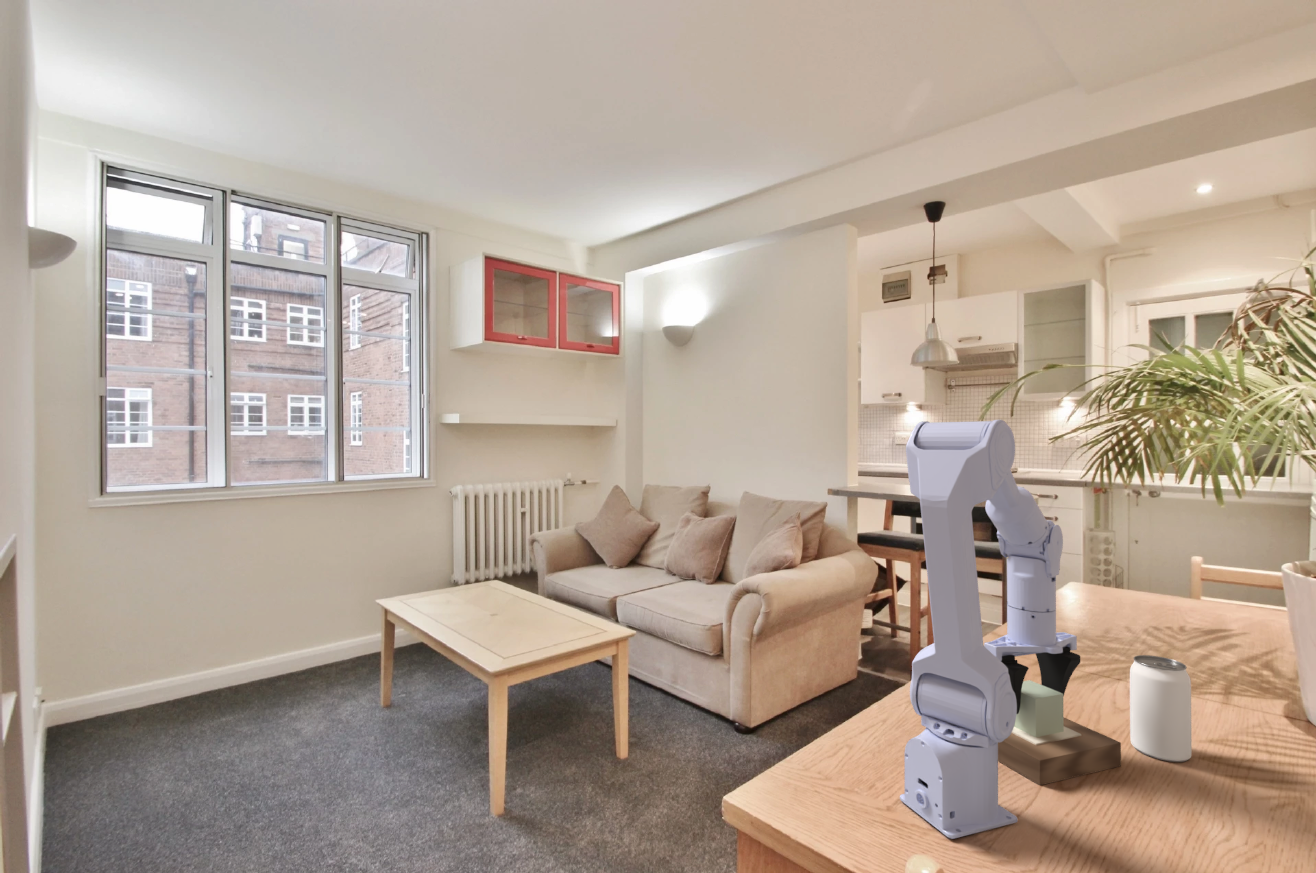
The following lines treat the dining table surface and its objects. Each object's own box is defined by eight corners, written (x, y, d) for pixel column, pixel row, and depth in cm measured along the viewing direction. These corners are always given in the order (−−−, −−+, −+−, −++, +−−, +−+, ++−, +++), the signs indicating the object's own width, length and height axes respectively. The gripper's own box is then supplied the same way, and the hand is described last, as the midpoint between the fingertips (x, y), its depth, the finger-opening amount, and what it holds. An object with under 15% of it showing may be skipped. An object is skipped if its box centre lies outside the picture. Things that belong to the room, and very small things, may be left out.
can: (1131, 735, 89) (1130, 650, 89) (1191, 749, 85) (1190, 661, 85) (1128, 753, 84) (1128, 663, 84) (1192, 768, 80) (1191, 674, 80)
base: (1039, 785, 76) (1039, 758, 76) (951, 734, 89) (951, 711, 89) (1120, 766, 80) (1120, 741, 80) (1025, 720, 94) (1025, 698, 94)
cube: (1035, 737, 81) (1035, 698, 82) (1002, 721, 86) (1002, 684, 86) (1063, 731, 83) (1063, 693, 83) (1029, 715, 88) (1029, 680, 88)
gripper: (1016, 619, 79) (1016, 727, 79) (1098, 609, 84) (1098, 711, 83) (971, 605, 85) (971, 705, 85) (1050, 597, 90) (1050, 691, 90)
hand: (1031, 707), depth 85 cm, fingers open, 7 cm apart
